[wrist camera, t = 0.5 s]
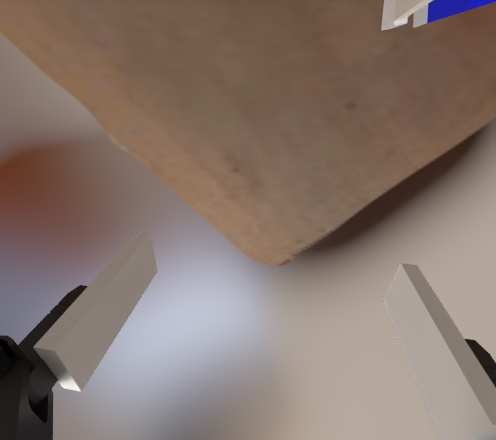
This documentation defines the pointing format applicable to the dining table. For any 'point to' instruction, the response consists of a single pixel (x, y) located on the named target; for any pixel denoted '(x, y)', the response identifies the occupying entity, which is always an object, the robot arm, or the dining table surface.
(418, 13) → the puzzle toy
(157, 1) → the dining table surface
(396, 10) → the cover
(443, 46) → the dining table surface
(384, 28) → the white hinged box
